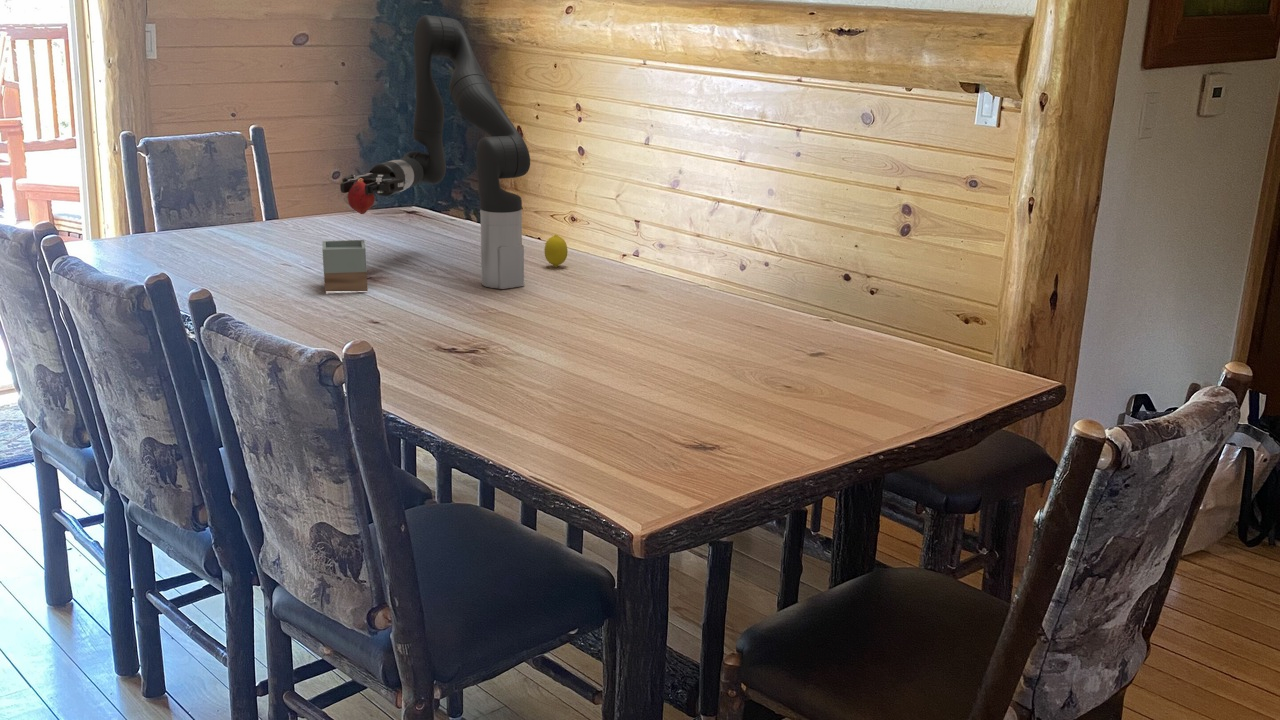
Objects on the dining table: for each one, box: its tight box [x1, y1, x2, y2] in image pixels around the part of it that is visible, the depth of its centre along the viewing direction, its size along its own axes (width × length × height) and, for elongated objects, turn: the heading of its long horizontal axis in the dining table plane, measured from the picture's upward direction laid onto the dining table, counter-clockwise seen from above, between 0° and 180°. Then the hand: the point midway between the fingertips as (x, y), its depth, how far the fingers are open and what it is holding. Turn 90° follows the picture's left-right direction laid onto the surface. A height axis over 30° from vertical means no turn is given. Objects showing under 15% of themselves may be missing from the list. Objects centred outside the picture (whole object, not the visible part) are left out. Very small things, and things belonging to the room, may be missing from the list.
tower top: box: [321, 239, 368, 274], centre depth 255 cm, size 9×9×5 cm
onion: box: [347, 178, 376, 215], centre depth 258 cm, size 6×6×8 cm
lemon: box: [544, 234, 568, 268], centre depth 281 cm, size 6×6×8 cm
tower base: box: [323, 271, 369, 292], centre depth 257 cm, size 9×9×5 cm
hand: (354, 189), depth 255 cm, fingers closed on onion, 5 cm apart
